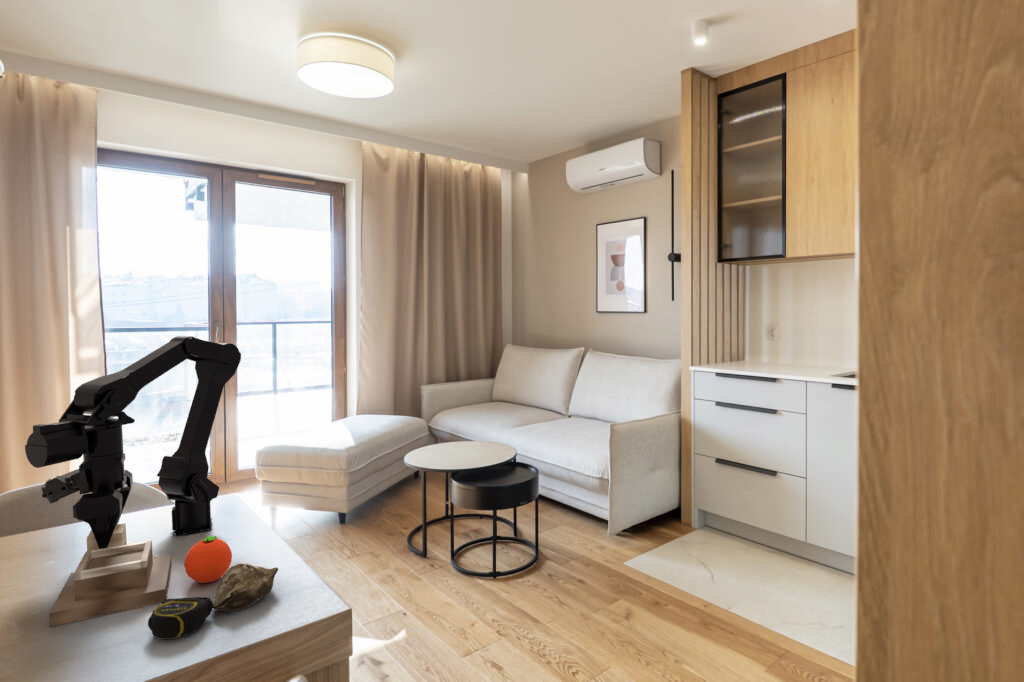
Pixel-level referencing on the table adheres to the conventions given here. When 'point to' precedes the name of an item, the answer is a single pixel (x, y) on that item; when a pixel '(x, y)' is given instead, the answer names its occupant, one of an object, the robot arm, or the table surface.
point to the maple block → (116, 539)
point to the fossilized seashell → (243, 587)
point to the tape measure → (179, 616)
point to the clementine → (208, 560)
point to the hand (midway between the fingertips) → (107, 539)
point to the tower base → (112, 583)
